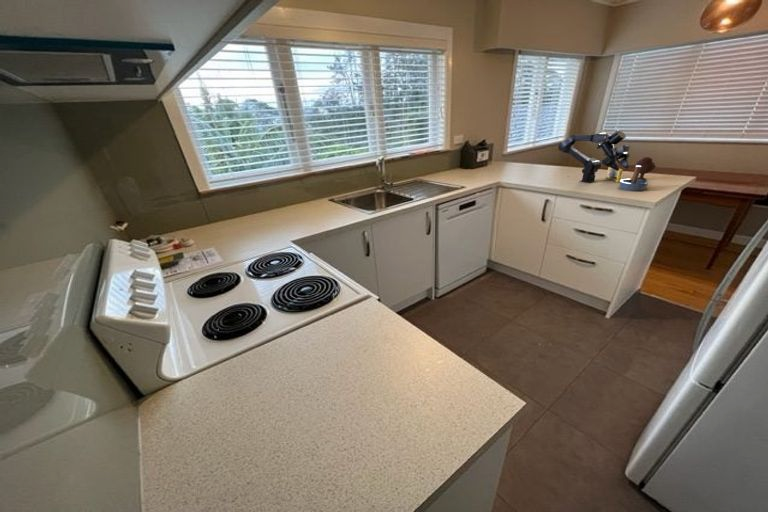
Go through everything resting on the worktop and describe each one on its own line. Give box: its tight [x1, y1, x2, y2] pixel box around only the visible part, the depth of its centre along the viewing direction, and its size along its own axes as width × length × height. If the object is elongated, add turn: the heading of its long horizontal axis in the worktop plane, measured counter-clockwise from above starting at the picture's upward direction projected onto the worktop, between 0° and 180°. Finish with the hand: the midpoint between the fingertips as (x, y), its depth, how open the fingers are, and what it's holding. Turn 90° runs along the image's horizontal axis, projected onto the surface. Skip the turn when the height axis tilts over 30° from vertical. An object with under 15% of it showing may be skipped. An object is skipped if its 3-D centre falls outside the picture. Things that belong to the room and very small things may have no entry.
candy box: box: [606, 166, 624, 183], centre depth 204 cm, size 16×2×8 cm, turn 168°
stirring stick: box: [631, 166, 641, 184], centre depth 180 cm, size 4×4×13 cm
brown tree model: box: [633, 156, 657, 181], centre depth 196 cm, size 11×11×15 cm
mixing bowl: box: [618, 178, 649, 192], centre depth 182 cm, size 13×13×4 cm
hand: (623, 169), depth 185 cm, fingers open, 9 cm apart
